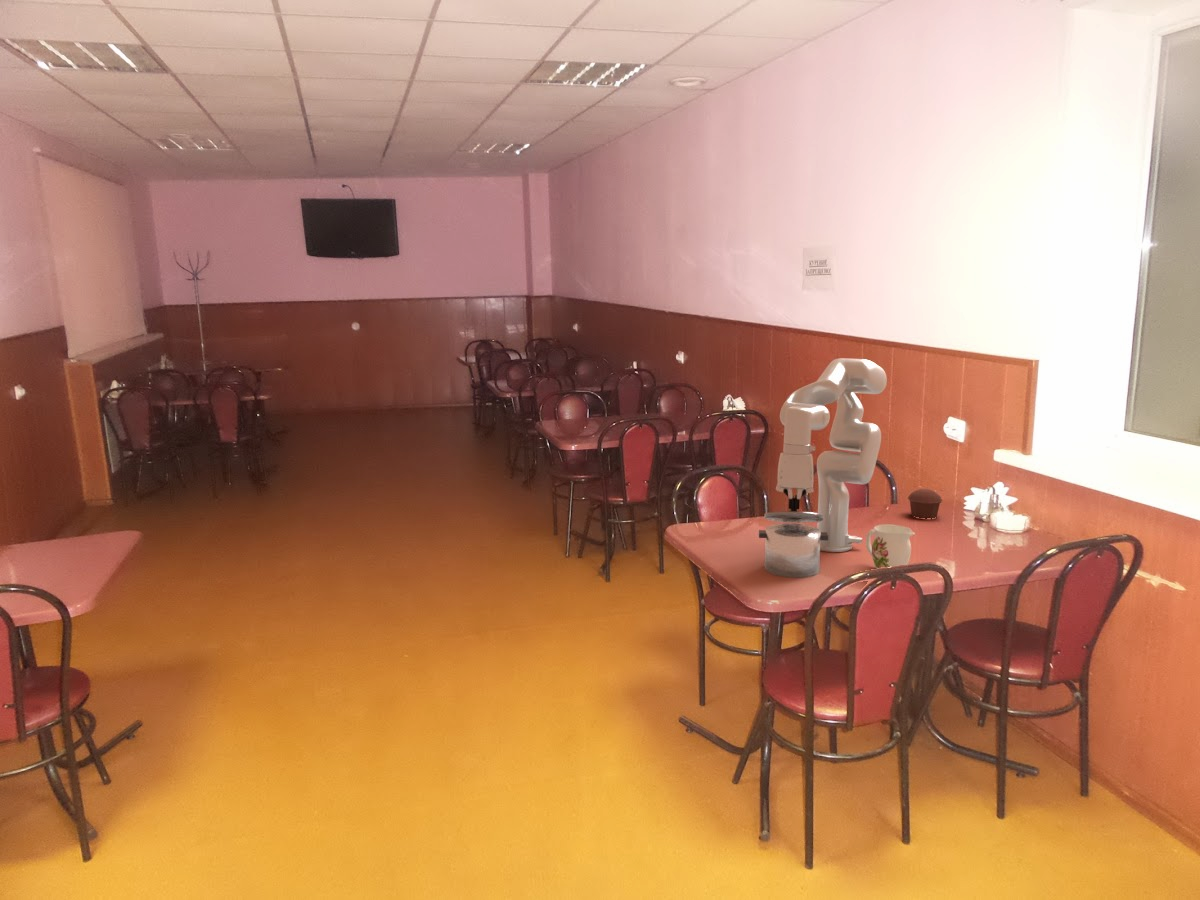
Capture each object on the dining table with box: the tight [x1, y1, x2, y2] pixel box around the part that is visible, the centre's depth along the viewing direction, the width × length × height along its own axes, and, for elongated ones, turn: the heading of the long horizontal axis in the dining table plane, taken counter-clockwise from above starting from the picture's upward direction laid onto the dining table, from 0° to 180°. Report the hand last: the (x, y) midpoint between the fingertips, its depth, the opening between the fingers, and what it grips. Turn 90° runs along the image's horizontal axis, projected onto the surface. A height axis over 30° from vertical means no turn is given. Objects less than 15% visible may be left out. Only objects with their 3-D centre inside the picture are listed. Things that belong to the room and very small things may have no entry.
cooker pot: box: [758, 522, 828, 579], centre depth 258 cm, size 20×17×12 cm
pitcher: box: [865, 523, 916, 569], centre depth 255 cm, size 11×18×14 cm, turn 27°
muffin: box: [907, 488, 943, 519], centre depth 314 cm, size 12×11×10 cm
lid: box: [763, 510, 823, 524], centre depth 257 cm, size 18×17×3 cm
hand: (793, 511), depth 252 cm, fingers closed
